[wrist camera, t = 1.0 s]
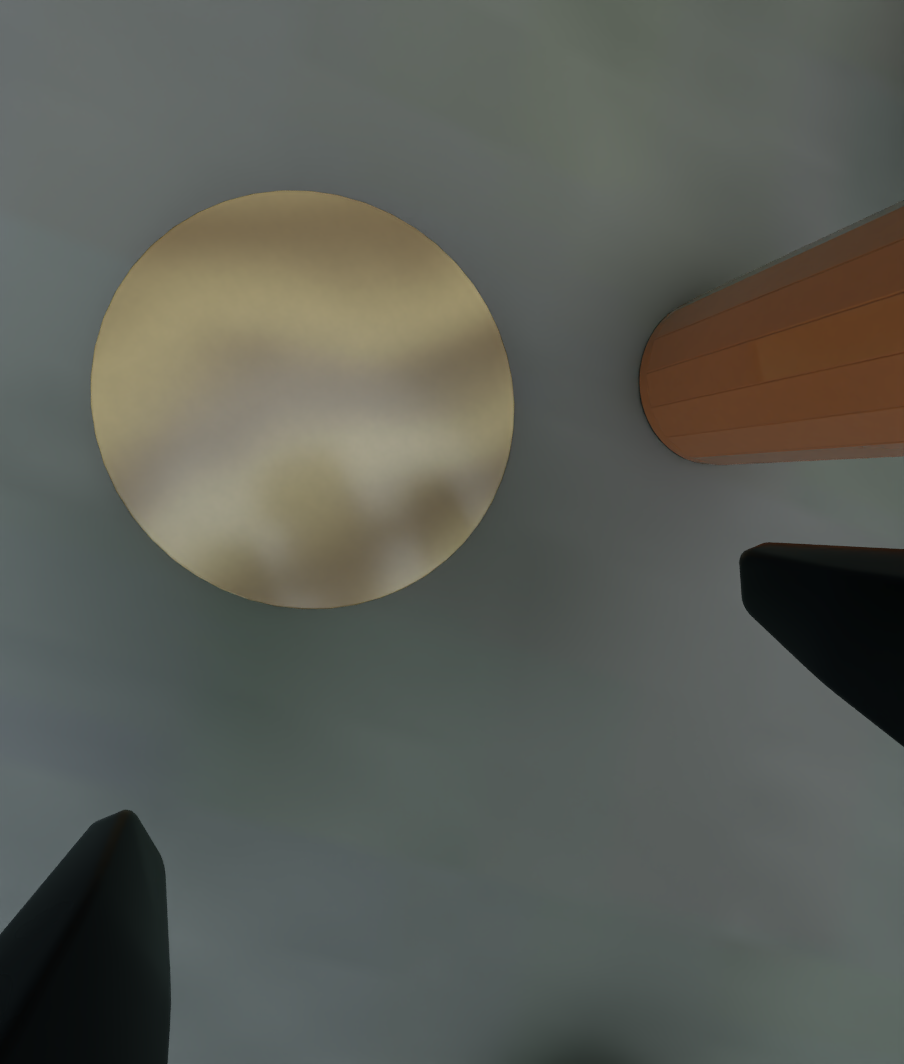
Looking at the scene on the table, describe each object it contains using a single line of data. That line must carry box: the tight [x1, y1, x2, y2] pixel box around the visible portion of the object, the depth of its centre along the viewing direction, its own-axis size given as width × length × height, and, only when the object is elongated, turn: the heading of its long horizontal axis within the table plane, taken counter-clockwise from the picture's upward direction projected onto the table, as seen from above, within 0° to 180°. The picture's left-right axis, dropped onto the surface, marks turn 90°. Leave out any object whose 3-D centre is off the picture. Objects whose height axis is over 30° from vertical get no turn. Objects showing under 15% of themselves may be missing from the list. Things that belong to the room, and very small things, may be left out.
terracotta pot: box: [639, 200, 904, 465], centre depth 19 cm, size 7×7×13 cm
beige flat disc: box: [91, 191, 514, 609], centre depth 21 cm, size 14×14×1 cm
